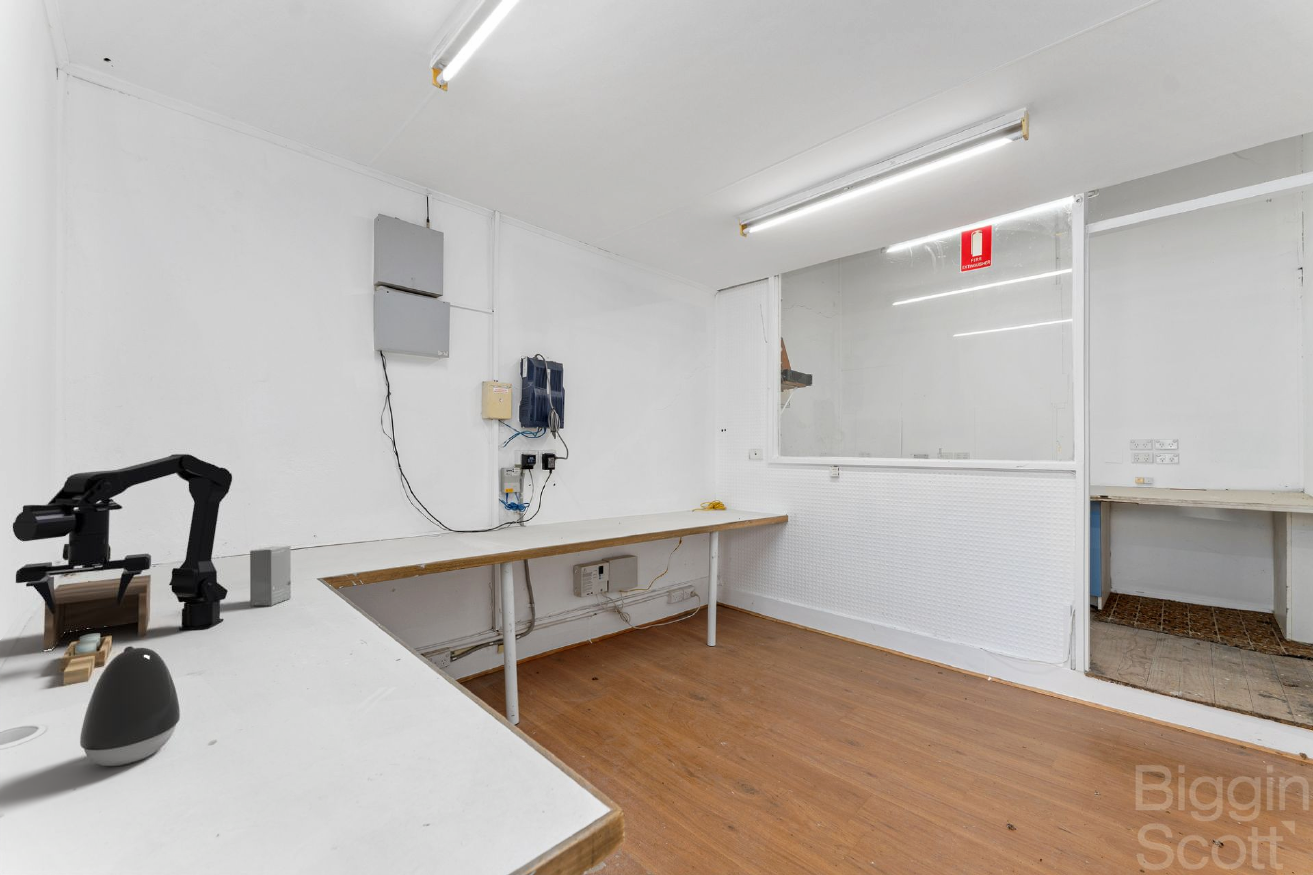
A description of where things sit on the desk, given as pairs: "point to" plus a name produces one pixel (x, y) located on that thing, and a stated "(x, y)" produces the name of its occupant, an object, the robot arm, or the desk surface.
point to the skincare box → (270, 575)
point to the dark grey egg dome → (130, 709)
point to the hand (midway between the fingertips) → (87, 609)
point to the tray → (84, 657)
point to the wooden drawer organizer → (97, 607)
